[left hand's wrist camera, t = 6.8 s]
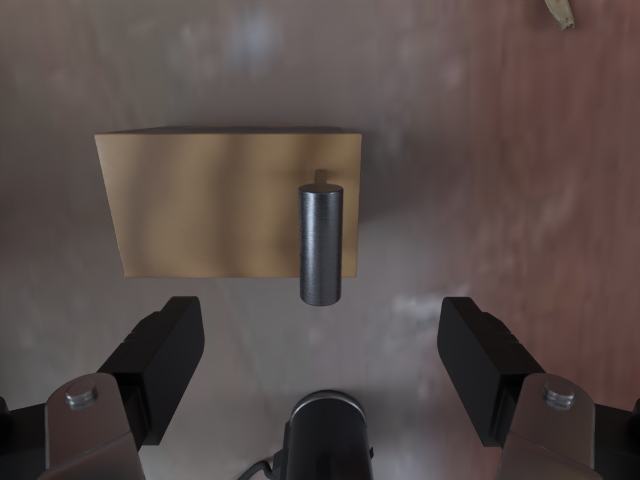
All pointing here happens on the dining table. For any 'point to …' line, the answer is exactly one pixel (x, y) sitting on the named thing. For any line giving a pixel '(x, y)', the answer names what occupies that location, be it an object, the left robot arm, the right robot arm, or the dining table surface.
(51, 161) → the dining table surface
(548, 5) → the jawbone
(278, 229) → the lid
